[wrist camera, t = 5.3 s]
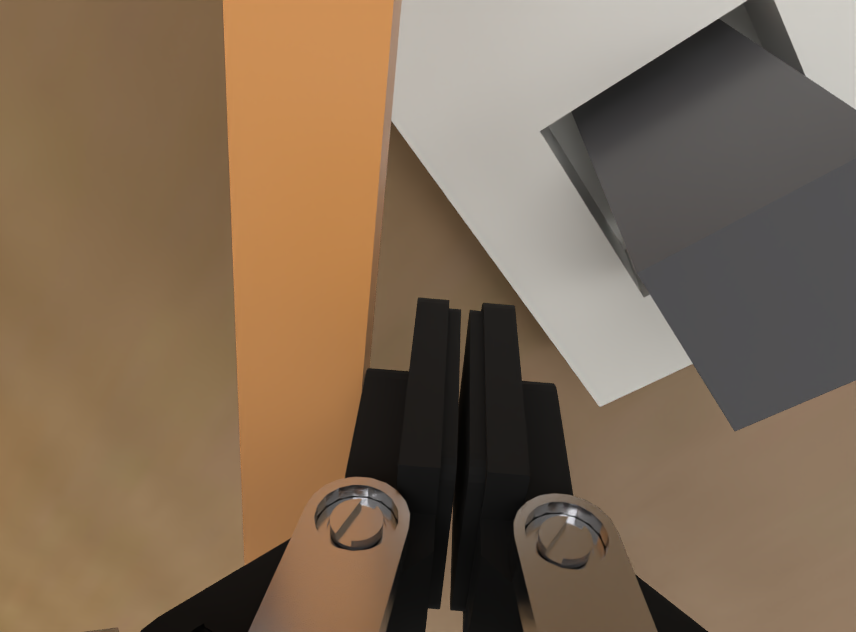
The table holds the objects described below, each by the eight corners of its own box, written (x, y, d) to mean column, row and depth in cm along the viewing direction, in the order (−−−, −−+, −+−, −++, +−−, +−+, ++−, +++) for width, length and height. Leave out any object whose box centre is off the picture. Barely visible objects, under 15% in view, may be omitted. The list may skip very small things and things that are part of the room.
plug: (711, 13, 20) (896, 136, 11) (771, 143, 21) (969, 332, 13) (568, 104, 21) (636, 272, 13) (636, 218, 23) (734, 431, 15)
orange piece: (342, -512, 12) (151, -1071, 5) (481, -491, 12) (506, -1010, 5) (314, 321, 22) (235, 570, 14) (393, 331, 22) (355, 583, 14)
